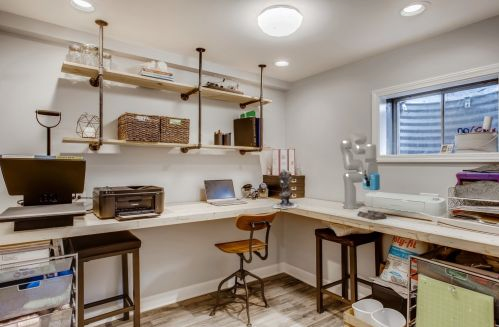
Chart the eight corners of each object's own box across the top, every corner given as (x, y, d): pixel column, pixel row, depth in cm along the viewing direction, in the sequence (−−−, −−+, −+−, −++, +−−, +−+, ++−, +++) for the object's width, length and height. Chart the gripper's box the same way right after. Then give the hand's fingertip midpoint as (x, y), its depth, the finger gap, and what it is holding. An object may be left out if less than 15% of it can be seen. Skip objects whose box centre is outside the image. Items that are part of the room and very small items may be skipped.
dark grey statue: (267, 207, 259) (268, 168, 262) (277, 206, 282) (279, 170, 284) (290, 209, 249) (291, 169, 251) (299, 208, 271) (300, 170, 274)
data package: (362, 189, 217) (362, 173, 217) (367, 188, 219) (367, 172, 218) (375, 190, 206) (375, 173, 206) (380, 190, 208) (379, 173, 207)
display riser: (357, 216, 218) (357, 211, 218) (370, 214, 222) (370, 210, 222) (372, 220, 203) (372, 215, 203) (386, 218, 207) (386, 213, 207)
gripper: (376, 160, 218) (376, 185, 218) (357, 161, 213) (358, 186, 213) (383, 160, 211) (384, 185, 211) (364, 161, 206) (365, 187, 206)
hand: (371, 185), depth 212 cm, fingers closed on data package, 4 cm apart
